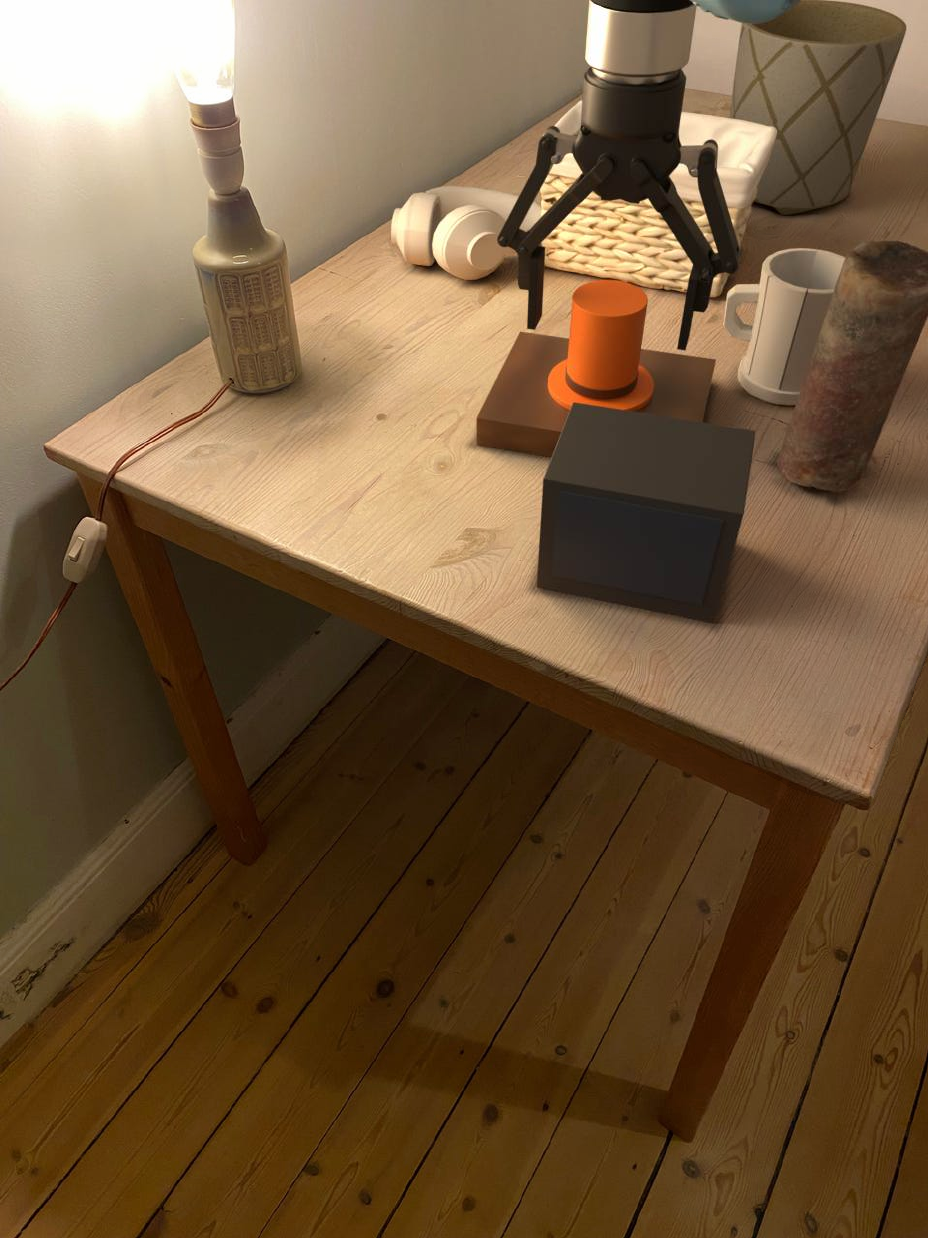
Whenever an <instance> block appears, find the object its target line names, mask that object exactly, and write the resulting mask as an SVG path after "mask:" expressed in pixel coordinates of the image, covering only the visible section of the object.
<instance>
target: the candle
mask: <svg viewBox="0 0 928 1238" xmlns="http://www.w3.org/2000/svg"><path fill="white" fill-rule="evenodd" d="M927 321H928V251H926V250H925V249H921V248H920V247H917V246H915V245H911V244H909V243H907V242H903V241H900V240H878V241H875V240H870V241H866V242H862V243H861V244H858V245H857V246H855V247H854V248H853V249H852V250H850V251H849V252H848V253H847V254H846V255H845V260H844V263H843V265H842V269H841V272H840V275H839V278H838V280H837V282H836V285H835V288H834V292H833V295H832V298H831V301H830V304H829V307H828V311H827V314H826V316H825V319H824V322H823V325H822V328H821V332H820V335H819V338H818V341H817V344H816V346H815V349H814V352H813V355H812V358H811V362H810V365H809V368H808V371H807V374H806V377H805V380H804V383H803V386H802V389H801V391H800V394H799V397H798V401H797V403H796V405H794V408H793V412H792V415H791V419H790V421H789V424H788V426H787V429H786V433H785V436H784V439H783V442H782V444H781V448H780V452H779V455H778V457H777V460H776V463H777V466H778V469H779V472H780V474H781V476H782V477H783V478H785V479H786V480H788V481H789V482H790V483H792V484H793V483H794V484H797V485H798V486H801V487H808V488H809V487H813V488H815V489H816V490H817V491H826V492H829V493H831V492H833V493H840V492H844V491H846V490H850V489H852V488H854V486H856V484H858V483H859V482H860V481H861V480H862V478H863V477H864V475H865V473H866V470H867V467H868V465H869V462H870V460H871V459H872V458H871V457H872V456H873V453H874V450H875V448H876V447H877V443H878V441H879V439H880V436H881V433H882V431H883V428H884V426H885V424H886V421H887V419H888V416H889V414H890V411H891V408H892V406H893V403H894V401H895V398H896V396H897V393H898V390H899V389H900V386H901V383H902V381H903V379H904V375H905V373H906V371H907V369H908V367H909V364H910V361H911V358H912V357H913V354H914V352H915V349H916V346H917V345H918V343H919V340H920V336H921V334H922V332H923V329H924V327H925V324H926V322H927Z"/></svg>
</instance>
